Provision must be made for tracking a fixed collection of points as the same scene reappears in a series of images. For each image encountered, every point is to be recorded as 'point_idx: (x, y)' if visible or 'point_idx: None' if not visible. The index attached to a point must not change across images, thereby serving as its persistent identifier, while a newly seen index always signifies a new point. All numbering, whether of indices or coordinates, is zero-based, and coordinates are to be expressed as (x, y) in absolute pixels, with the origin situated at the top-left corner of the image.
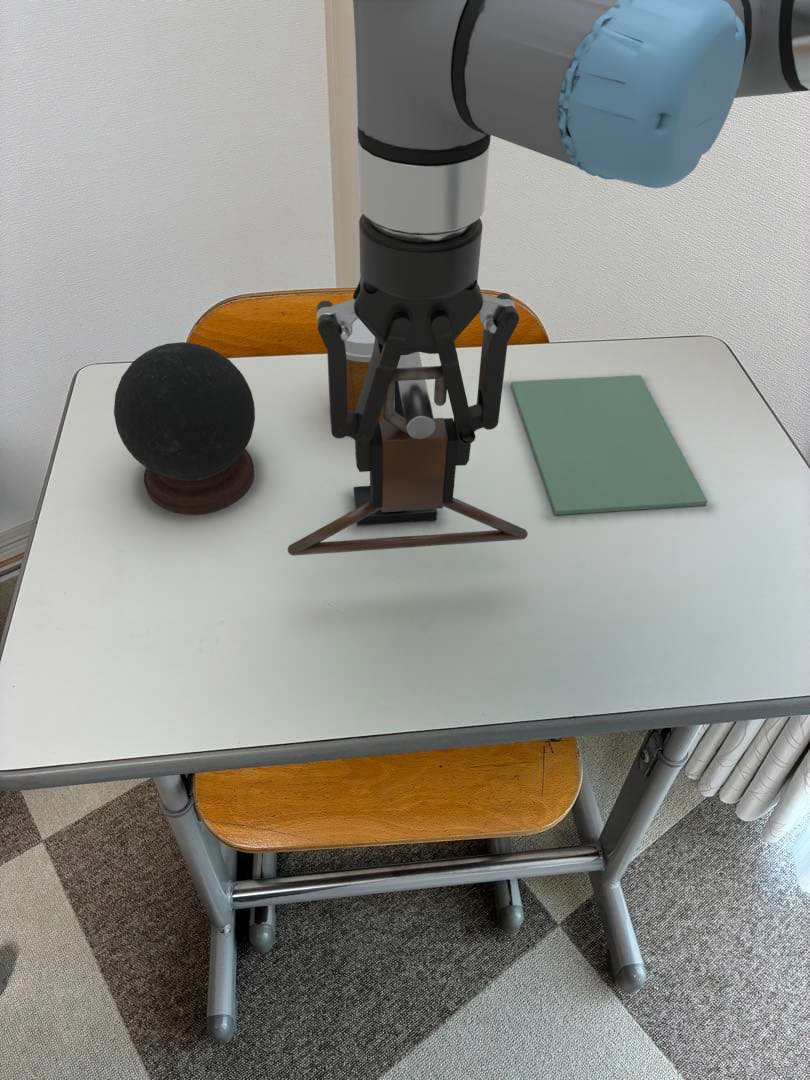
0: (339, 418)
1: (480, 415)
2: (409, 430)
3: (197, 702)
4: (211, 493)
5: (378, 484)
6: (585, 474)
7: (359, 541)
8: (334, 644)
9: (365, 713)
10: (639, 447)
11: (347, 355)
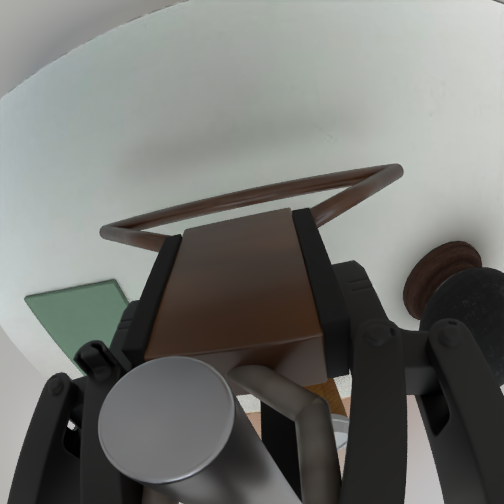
0: (470, 375)
1: (76, 406)
2: (218, 400)
3: (433, 28)
4: (444, 262)
5: (308, 240)
6: (103, 321)
7: (314, 187)
8: (319, 83)
9: (271, 4)
10: (78, 344)
11: (333, 418)
